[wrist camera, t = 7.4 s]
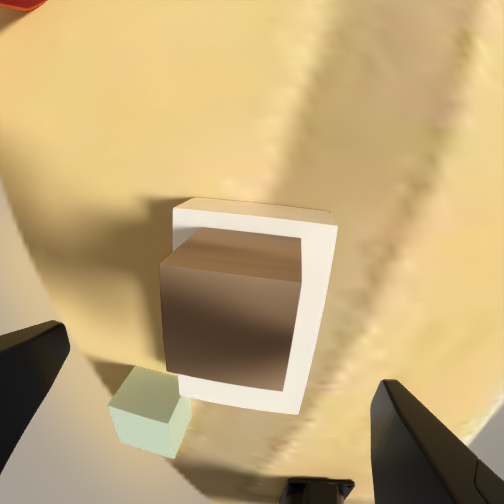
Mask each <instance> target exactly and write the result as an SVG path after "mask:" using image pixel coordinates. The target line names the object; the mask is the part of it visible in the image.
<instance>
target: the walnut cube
mask: <svg viewBox="0 0 504 504" xmlns="http://www.w3.org/2000/svg"><path fill="white" fill-rule="evenodd" d="M159 271H160V294H161V311H162V326H163V339H164V350H165V361H166V371H168V372H172V373H177V374H181V375H186V376H190V377H195V378H200V379H205V380H210V381H216V382H221V383H227V384H233V385H239V386H245V387H252V388H258V389H266V390H273V391H281V392H283V388H284V383H285V378H286V373H287V367H288V362H289V357H290V351H291V345H292V340H293V334H294V328H295V322H296V316H297V310H298V304H299V298H300V292H301V285H302V252H301V238H297V237H288V236H280V235H271V234H263V233H254V232H245V231H236V230H227V229H218V228H208V227H201V228H200V229H199V230H198V231H197V232H195V233H194V234H193V235H192V236H191V237H190V238H188V239H187V240H186V241H185V242H184V243H183V244H181V245H180V246H179V247H178V248H177V249H176V250H174V251H173V252H172V253H171V254H170V255H169V256H168V257H166V258H165V259H164V260H163V261H162V262H161V263H160V264H159Z"/></svg>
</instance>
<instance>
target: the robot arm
mask: <svg viewBox="0 0 504 504" xmlns="http://www.w3.org/2000/svg"><path fill="white" fill-rule="evenodd" d="M69 352H70V343H69V339H68V335H67V331H66V327H65V325H64V324H63V323H61V322H58V321H55V320H51V321H48V322H44V323H41V324H38V325H34V326H31V327H28V328H25V329H21V330H18V331H14V332H11V333H8V334H4V335H1V336H0V474H1V472H2V470H3V469H4V466H5V464H6V463H7V461H8V459H9V457H10V455H11V454H12V452H13V450H14V448H15V447H16V444H17V443H18V441H19V440H20V438H21V436H22V434H23V433H24V430H25V429H26V427H27V426H28V424H29V422H30V421H31V419H32V417H33V416H34V414H35V413H36V411H37V409H38V408H39V406H40V404H41V403H42V401H43V400H44V398H45V397H46V395H47V393H48V392H49V390H50V388H51V386H52V384H53V383H54V380H55V378H56V377H57V375H58V373H59V371H60V369H61V367H62V365H63V363H64V361H65V360H66V358H67V356H68V354H69ZM370 412H371V465H372V475H373V485H374V497H375V504H504V481H503V480H502V479H501V478H500V477H498V476H497V475H496V474H495V473H494V472H493V471H492V470H491V469H490V468H489V467H488V466H486V465H485V463H483V462H482V461H481V460H480V459H478V457H477V456H476V455H475V454H474V453H473V452H472V451H471V450H470V449H469V448H468V447H467V446H466V445H465V444H464V443H463V442H462V441H460V440H459V439H458V438H457V437H456V436H455V435H454V434H453V433H452V432H451V431H450V430H449V429H448V428H447V427H446V426H445V425H444V424H443V423H442V422H441V421H440V420H439V419H438V418H437V417H435V416H434V415H433V414H432V413H431V412H430V411H429V410H428V409H427V408H426V407H425V406H424V405H423V404H422V403H421V402H420V401H419V400H418V399H417V398H416V397H415V396H413V395H412V394H411V393H410V392H409V391H408V390H407V389H406V388H405V387H404V386H403V385H402V384H401V383H400V382H399V381H397V380H394V379H384V380H382V381H381V382H380V384H379V386H378V388H377V391H376V393H375V395H374V397H373V400H372V403H371V409H370ZM354 487H355V482H354V481H318V480H300V479H289V480H288V481H287V483H286V485H285V488H284V491H283V493H282V496H281V498H280V501H279V504H344V500H345V499H346V497H347V496H348V495H349V493H350V492H351V491H352V489H353V488H354Z"/></svg>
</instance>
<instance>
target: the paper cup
mask: <svg viewBox="0 0 504 504" xmlns="http://www.w3.org/2000/svg"><path fill="white" fill-rule="evenodd" d="M46 1H47V0H0V7H3V8H9V9H15V10H21V11H31V10H34V9H36V8H38V7H39V6H41V5H42V4H43V3H45V2H46Z"/></svg>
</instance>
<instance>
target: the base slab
mask: <svg viewBox="0 0 504 504" xmlns="http://www.w3.org/2000/svg"><path fill="white" fill-rule="evenodd" d="M201 227H208V228H218V229H227V230H236V231H245V232H254V233H263V234H271V235H280V236H288V237H297V238H301V252H302V285H301V292H300V298H299V304H298V310H297V316H296V322H295V328H294V334H293V340H292V345H291V351H290V357H289V362H288V367H287V373H286V378H285V383H284V388H283V392H281V391H273V390H266V389H258V388H252V387H245V386H239V385H233V384H227V383H221V382H216V381H210V380H205V379H200V378H195V377H190V376H186V375H181V374H178V382H179V393H180V395H181V396H186V397H190V398H195V399H199V400H204V401H209V402H214V403H219V404H225V405H230V406H236V407H242V408H249V409H255V410H262V411H270V412H278V413H286V414H296V415H298V414H299V410H300V406H301V402H302V399H303V395H304V391H305V387H306V383H307V379H308V375H309V371H310V367H311V363H312V358H313V354H314V350H315V345H316V341H317V336H318V332H319V327H320V323H321V318H322V313H323V308H324V303H325V298H326V293H327V288H328V282H329V277H330V271H331V266H332V260H333V254H334V248H335V242H336V235H337V229H338V225H337V223H336V221H335V219H334V217H333V215H332V213H331V212H330V211H322V210H314V209H306V208H298V207H289V206H281V205H272V204H262V203H253V202H243V201H233V200H222V199H211V198H199V197H194V198H192V199H190V200H188V201H186V202H184V203H182V204H180V205H178V206H176V207H174V208H173V251H174V250H176V249H177V248H178V247H179V246H180V245H181V244H183V243H184V242H185V241H186V240H187V239H188V238H190V237H191V236H192V235H193V234H194V233H195V232H197V231H198V230H199V229H200V228H201Z"/></svg>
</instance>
